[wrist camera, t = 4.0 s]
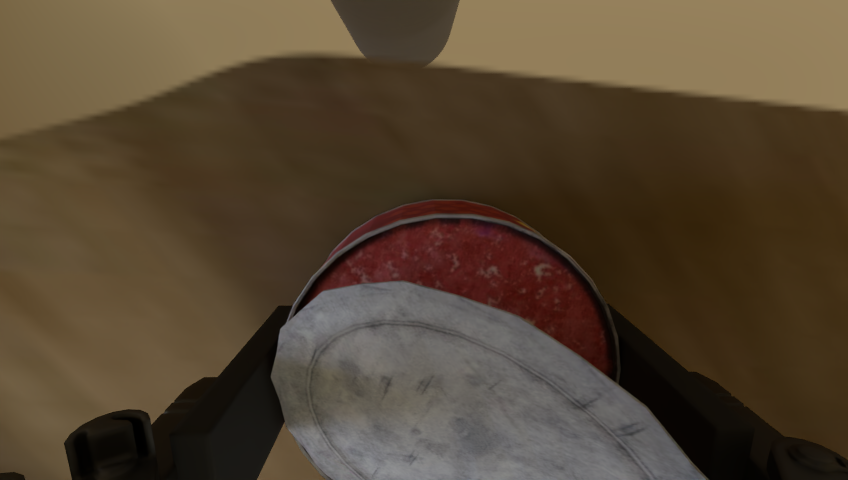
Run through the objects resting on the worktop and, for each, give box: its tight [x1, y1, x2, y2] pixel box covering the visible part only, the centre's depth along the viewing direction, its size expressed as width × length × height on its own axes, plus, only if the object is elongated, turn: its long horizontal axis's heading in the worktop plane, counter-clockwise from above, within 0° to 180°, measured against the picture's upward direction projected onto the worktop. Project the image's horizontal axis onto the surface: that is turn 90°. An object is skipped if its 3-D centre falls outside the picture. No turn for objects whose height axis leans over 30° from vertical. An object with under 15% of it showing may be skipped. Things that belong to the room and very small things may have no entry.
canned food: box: [271, 199, 709, 480], centre depth 12 cm, size 11×10×10 cm
